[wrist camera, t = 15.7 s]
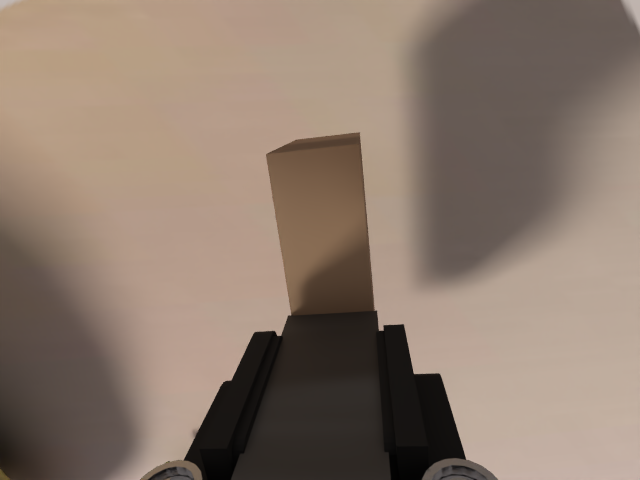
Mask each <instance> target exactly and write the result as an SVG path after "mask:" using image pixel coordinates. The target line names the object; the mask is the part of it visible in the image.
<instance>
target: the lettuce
mask: <svg viewBox="0 0 640 480" xmlns="http://www.w3.org/2000/svg"><path fill="white" fill-rule="evenodd" d="M0 480H11V479H9V478H8V477H7V476H6V475H5V473H4V472H3V471H2V469H1V468H0Z"/></svg>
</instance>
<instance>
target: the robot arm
mask: <svg viewBox="0 0 640 480" xmlns="http://www.w3.org/2000/svg"><path fill="white" fill-rule="evenodd" d="M376 338H377V352H378V367H379V381H380V396H381V410H382V425H383V439H384V452H389V463H390V475H391V480H498V479H497V478H496V477H495V476H494V475H493V473H491V472H490V471H488V470H487V469H486V468H484V467H483V466H481V465H479V464H477V463H474V462H472V461H469V460H466V457H465V454H464V451H463V447H462V444H461V441H460V437H459V434H458V431H457V427H456V424H455V421H454V417H453V414H452V411H451V407H450V404H449V401H448V397H447V394H446V391H445V388H444V384H443V381H442V378H441V375H440V374H439V373H438V374H414V373H413V368H412V363H411V358H410V353H409V348H408V343H407V338H406V333H405V328H404V324H401V325H384V331H376ZM282 339H283V337H282V336H277V334H276V332H275V331H266V332H255V333H254V334H253V336H252V338H251V340H250V342H249V345H248V347H247V349H246V351H245V353H244V355H243V357H242V359H241V361H240V364H239V366H238V368H237V370H236V372H235V374H234V376H233V378H232V380H231V381H225V382H223V384H222V385H221V387H220V389H219V391H218V393H217V395H216V397H215V399H214V401H213V403H212V405H211V407H210V409H209V411H208V413H207V415H206V417H205V419H204V421H203V423H202V425H201V427H200V429H199V431H198V433H197V435H196V437H195V439H194V441H193V443H192V445H191V447H190V449H189V451H188V453H187V455H186V457H185V459H184V461H182V460H177V461H172V462H167V463H165V464H162V465H160V466H158V467H156V468H154V469H153V470H151V471H150V472H148V473H147V474H145V475H144V476H143V477H142V478H141V479H140V480H231V478H232V475H233V472H234V470H235V467H236V464H237V461H238V458H239V455H240V454H244V451H245V448H246V445H247V442H248V440H249V437H250V434H251V431H252V428H253V425H254V422H255V419H256V416H257V413H258V410H259V407H260V404H261V401H262V398H263V395H264V392H265V389H266V386H267V383H268V380H269V378H270V375H271V372H272V369H273V366H274V363H275V360H276V357H277V354H278V351H279V348H280V345H281V342H282Z"/></svg>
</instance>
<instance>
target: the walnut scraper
mask: <svg viewBox="0 0 640 480" xmlns="http://www.w3.org/2000/svg"><path fill="white" fill-rule="evenodd" d="M266 157H267V164H268V170H269V176H270V183H271V189H272V195H273V202H274V208H275V214H276V220H277V227H278V233H279V239H280V246H281V252H282V258H283V264H284V271H285V277H286V283H287V290H288V296H289V302H290V309H291V315H292V316H288V318H287V321H286V324H285V327H284V329H283V332H282V335H281V336H282V337H283V339H282V342H281V345H280V348H279V351H278V354H277V357H276V360H275V363H274V366H273V369H272V372H271V375H270V378H269V380H268V383H267V386H266V389H265V392H264V395H263V398H262V401H261V404H260V407H259V410H258V413H257V416H256V419H255V422H254V425H253V428H252V431H251V434H250V437H249V440H248V442H247V445H246V448H245V451H244V454H240V455H239V458H238V461H237V464H236V467H235V470H234V472H233V475H232V478H231V480H391V475H390V463H389V452H384V439H383V425H382V410H381V396H380V381H379V367H378V352H377V338H376V331H379V329H378V317H377V311H375V309H374V297H373V285H372V274H371V262H370V250H369V238H368V226H367V214H366V202H365V190H364V178H363V166H362V155H361V143H360V132H359V133H351V134H342V135H333V136H325V137H316V138H308V139H299V140H295V141H293V142H291V143H289V144H287V145H284V146H282V147H280V148H278V149H276V150H274V151H272V152H270V153H268V154H266Z"/></svg>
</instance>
